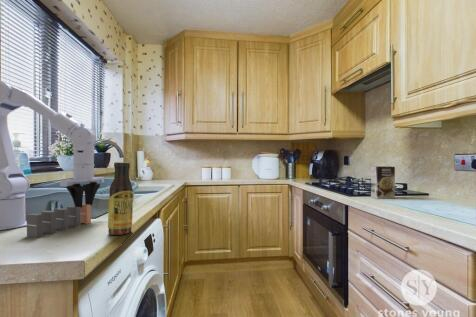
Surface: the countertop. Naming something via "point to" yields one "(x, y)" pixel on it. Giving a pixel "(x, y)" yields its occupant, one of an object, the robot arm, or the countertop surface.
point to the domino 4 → (74, 215)
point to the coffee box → (383, 182)
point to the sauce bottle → (120, 201)
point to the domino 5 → (85, 214)
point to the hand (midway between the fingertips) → (83, 206)
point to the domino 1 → (34, 225)
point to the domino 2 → (48, 222)
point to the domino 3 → (62, 219)
